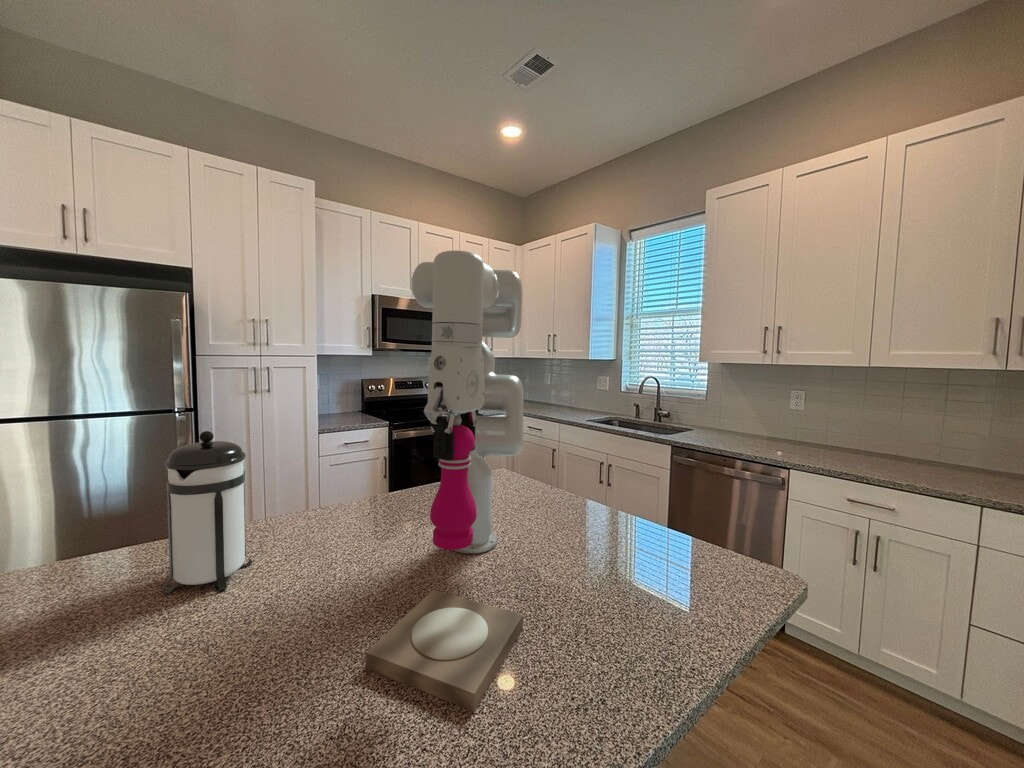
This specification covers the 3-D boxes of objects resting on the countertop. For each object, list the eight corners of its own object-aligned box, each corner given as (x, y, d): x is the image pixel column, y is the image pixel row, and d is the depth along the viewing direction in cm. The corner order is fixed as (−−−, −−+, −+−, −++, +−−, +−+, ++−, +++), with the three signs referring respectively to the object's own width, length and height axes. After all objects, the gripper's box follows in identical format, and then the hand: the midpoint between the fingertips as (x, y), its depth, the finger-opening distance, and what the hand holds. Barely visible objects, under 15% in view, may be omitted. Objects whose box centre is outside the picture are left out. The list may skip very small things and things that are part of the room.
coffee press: (269, 576, 85) (267, 431, 83) (168, 610, 73) (163, 442, 71) (244, 547, 97) (242, 420, 94) (154, 572, 85) (149, 428, 83)
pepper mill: (443, 528, 70) (446, 410, 68) (483, 535, 67) (486, 413, 66) (420, 546, 63) (422, 416, 61) (463, 555, 60) (467, 420, 59)
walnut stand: (365, 668, 61) (365, 650, 61) (433, 602, 78) (433, 588, 78) (474, 711, 55) (474, 691, 54) (522, 629, 71) (523, 613, 71)
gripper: (449, 334, 53) (446, 471, 55) (502, 339, 69) (499, 446, 71) (401, 333, 56) (399, 464, 57) (463, 339, 72) (460, 441, 73)
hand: (454, 453), depth 64 cm, fingers closed on pepper mill, 5 cm apart
